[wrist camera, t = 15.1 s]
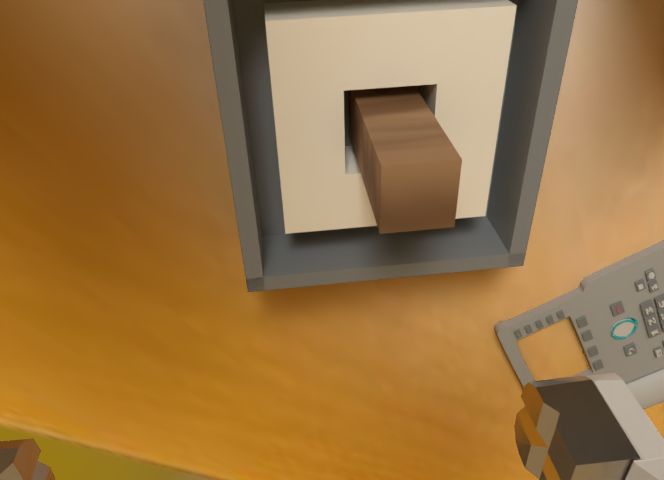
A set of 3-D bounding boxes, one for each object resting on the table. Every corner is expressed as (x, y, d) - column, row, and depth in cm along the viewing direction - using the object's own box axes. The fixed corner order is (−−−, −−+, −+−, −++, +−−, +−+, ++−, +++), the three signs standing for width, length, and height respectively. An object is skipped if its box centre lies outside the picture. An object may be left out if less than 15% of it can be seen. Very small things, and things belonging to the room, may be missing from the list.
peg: (348, 79, 37) (381, 165, 28) (408, 75, 38) (462, 159, 28) (348, 136, 40) (379, 233, 30) (405, 131, 40) (454, 227, 30)
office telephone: (739, 386, 61) (559, 456, 64) (722, 367, 63) (549, 436, 67) (719, 236, 47) (495, 336, 51) (699, 218, 50) (485, 316, 53)
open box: (203, -73, 32) (194, -56, 27) (545, -90, 34) (593, -77, 29) (248, 242, 45) (247, 292, 40) (494, 220, 47) (523, 265, 42)
